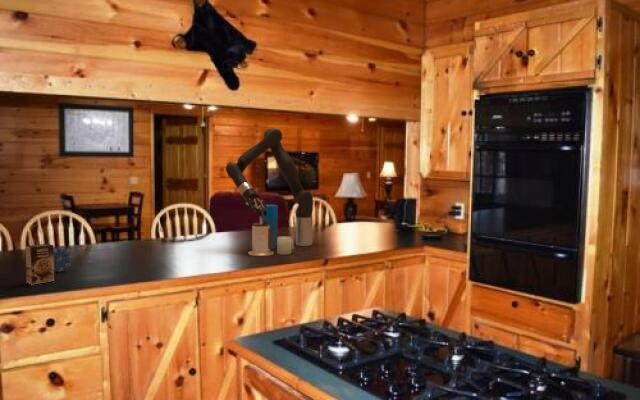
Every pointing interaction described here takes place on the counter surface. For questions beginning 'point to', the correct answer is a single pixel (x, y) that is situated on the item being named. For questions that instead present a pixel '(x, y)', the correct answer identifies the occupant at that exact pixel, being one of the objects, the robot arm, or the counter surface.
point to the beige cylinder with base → (262, 240)
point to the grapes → (61, 258)
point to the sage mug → (284, 245)
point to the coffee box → (39, 264)
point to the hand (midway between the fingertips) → (263, 214)
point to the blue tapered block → (272, 220)
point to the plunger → (262, 213)
